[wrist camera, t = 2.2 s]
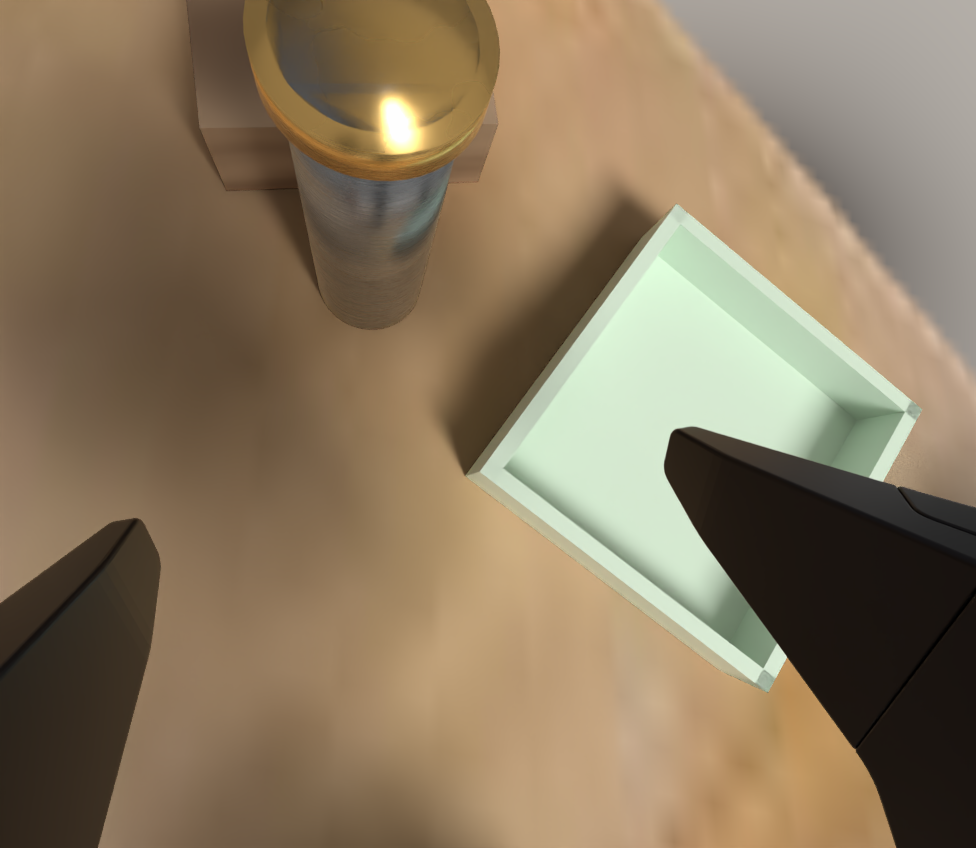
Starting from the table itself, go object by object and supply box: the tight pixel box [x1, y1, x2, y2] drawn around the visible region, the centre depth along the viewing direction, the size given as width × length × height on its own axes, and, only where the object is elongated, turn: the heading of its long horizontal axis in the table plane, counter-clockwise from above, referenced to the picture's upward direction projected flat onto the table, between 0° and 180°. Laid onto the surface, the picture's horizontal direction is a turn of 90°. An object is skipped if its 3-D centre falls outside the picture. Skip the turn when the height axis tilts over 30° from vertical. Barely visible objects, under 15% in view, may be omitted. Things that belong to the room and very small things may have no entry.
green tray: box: [465, 204, 922, 693], centre depth 24 cm, size 13×13×3 cm
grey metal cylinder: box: [243, 0, 500, 330], centre depth 18 cm, size 5×5×13 cm
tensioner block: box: [186, 0, 498, 191], centre depth 23 cm, size 7×10×5 cm
